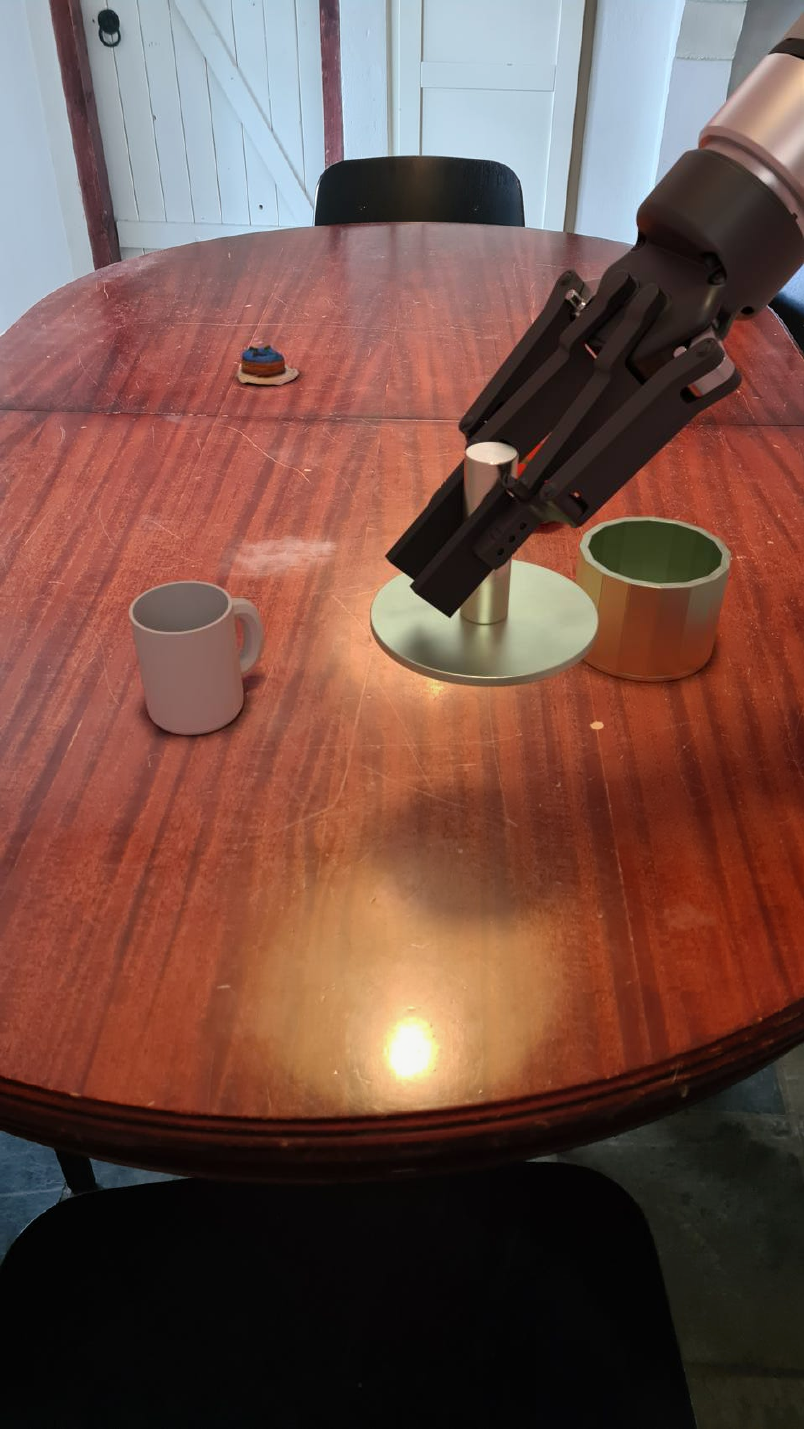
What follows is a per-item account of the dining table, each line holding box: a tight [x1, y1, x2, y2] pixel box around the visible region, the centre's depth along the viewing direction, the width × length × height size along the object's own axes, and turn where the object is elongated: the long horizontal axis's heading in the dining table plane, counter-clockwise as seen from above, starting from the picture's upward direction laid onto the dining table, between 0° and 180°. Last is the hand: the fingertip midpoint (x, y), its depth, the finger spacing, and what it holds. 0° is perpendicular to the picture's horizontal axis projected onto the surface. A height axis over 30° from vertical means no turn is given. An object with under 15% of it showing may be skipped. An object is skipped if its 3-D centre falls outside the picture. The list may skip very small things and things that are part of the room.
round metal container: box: [574, 516, 733, 683], centre depth 82 cm, size 11×11×8 cm
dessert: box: [237, 344, 300, 386], centre depth 135 cm, size 8×7×6 cm
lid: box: [369, 442, 599, 688], centre depth 53 cm, size 12×12×10 cm
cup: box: [128, 580, 265, 736], centre depth 76 cm, size 7×10×9 cm
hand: (417, 586), depth 53 cm, fingers closed on lid, 3 cm apart
